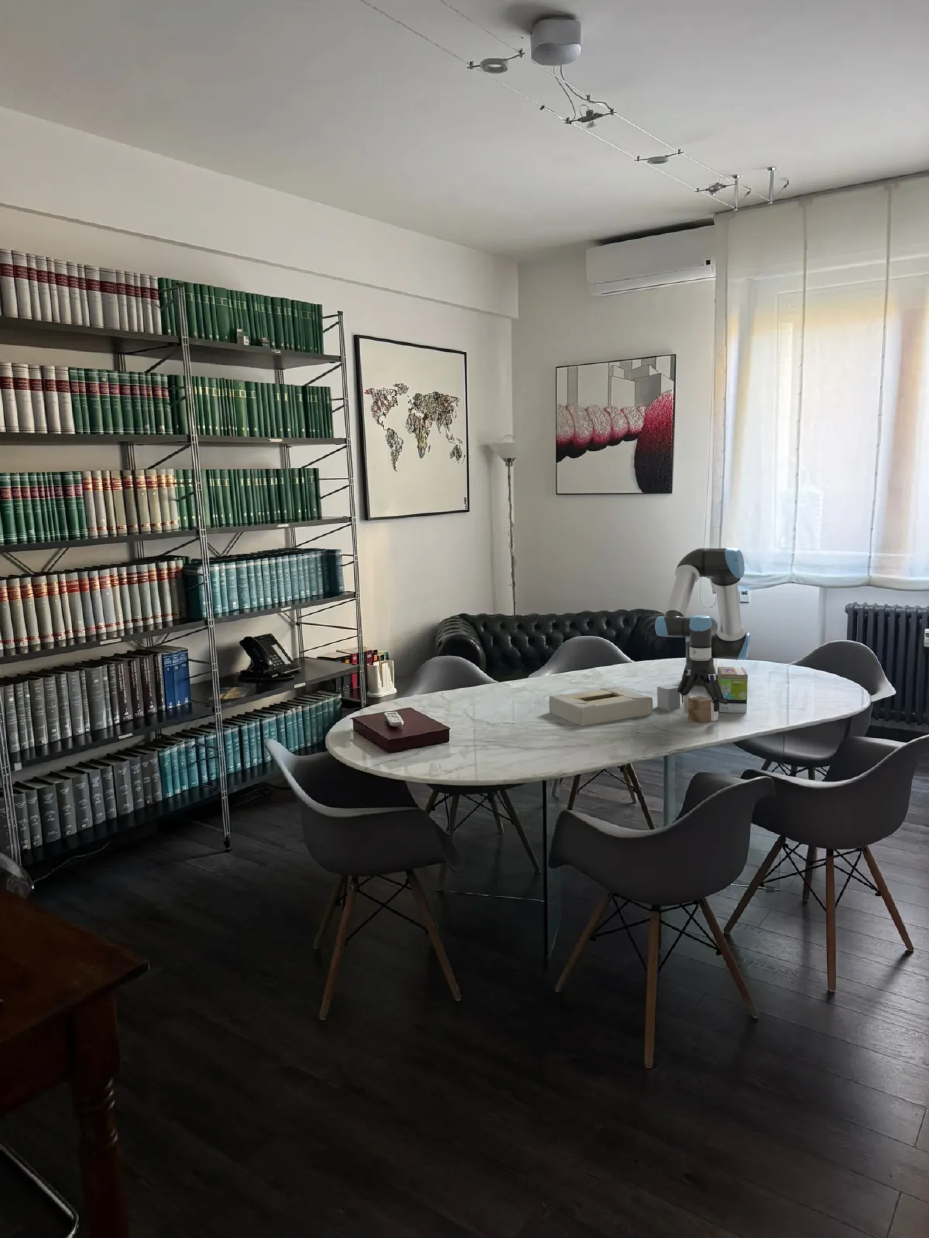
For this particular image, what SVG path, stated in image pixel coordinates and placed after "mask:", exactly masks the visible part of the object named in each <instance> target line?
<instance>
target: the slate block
mask: <svg viewBox="0 0 929 1238" xmlns="http://www.w3.org/2000/svg"><path fill="white" fill-rule="evenodd" d="M678 688H679V686H677V685H672V684H664V685H660V686H657V687H656V694H657V695H656V697H657V698H656V699H657V700H656V702H657V703H656V704H657V706H656V707H657V708H660V709H663V710H675V709H678V708H681V693H678V692H677V690H678Z"/></svg>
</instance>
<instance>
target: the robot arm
mask: <svg viewBox="0 0 929 1238" xmlns="http://www.w3.org/2000/svg"><path fill="white" fill-rule="evenodd" d="M744 559H745V558H744V555H743V553H742V550H740V549H739V548H736V547H726V548H724V547H722V548H721V547H714V548H713V547H711V548H710V547H707V548H706V547H700V548H697V549H694V550H692V551H690V552H688V553H687V554H685V555H684V556H683V557H682V559H681V560H680V561H679V563H678V564H677V565H676V569H675V572H674V575H675V580H674V583H673V586H672V590H671V592H670V596H669V599H668V603H667V606H666V610H665V612H664V615H662V616H661V615H660V616H657V617H656V619H655V622H654V630H655V634H656V635H657V637H658V636H659V637H668V638H671V637H672V638H685V642H684V643H685V665H684V669H683V673H682V675H681V681H680V683H679V686H678V687H679V688H678V690H677V692H678V693H680V696H681V703H682V713H683V714H688V698H691V697H690V696H691V695H690V692H691V690H692V689H693V688H694V687H695V685H696V686H697V685H698V686H703V687H704V688H705V690H706V692H707V694H708V695H709V698H711V699H712V703H711V721H710V722H712V721H718V720H719V712H720V710H719V703H720V702H722V701H724V697H723V694H722V691H721V688H720V686H719V683H718V678H717V671H716V668H715V667H716V666H715V665H714V663H715V662H714V660H715V659H718V660H732V661H738V660H739V661H740V660H741V661H744V660H746V659H747V658H748V655H749V652H750V651H749V650H750V643H751V633H750V632H749V631H748V632H747V631H746V627H744V625H742V617H741V608H740V607H741V606H740V596H739V585H738V583H739V582H740V581H741V580H742V578H743V577H744V575H745V560H744ZM700 578H710V582H711V583H712V584H713V585H714V586H715V593H716V602H717V611H718V619H719V620H718V621H719V622H718V621H717V619H716V618H714V617H713V616H709V615H706V614H700V615H698V614H697V615H692V616H686V615H687V612H688V608H689V605H690V601H691V597H692V594H693V591H694V588H695V584H696V583H697V582H698V581H699V579H700Z"/></svg>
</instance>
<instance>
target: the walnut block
mask: <svg viewBox="0 0 929 1238" xmlns="http://www.w3.org/2000/svg"><path fill="white" fill-rule="evenodd" d="M712 702H713V701H712V699H711V697H706V696H702V695H698V696H693V697H690V698H688V713H687V720H688V721H691V722H695V723H698V724H703V723H708V722H712V721H711V703H712Z"/></svg>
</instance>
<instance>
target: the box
mask: <svg viewBox="0 0 929 1238" xmlns="http://www.w3.org/2000/svg"><path fill="white" fill-rule="evenodd" d="M653 700H654V699H653V697H652V696H648V695H645V694H642V693H638V692H634V691H632V690H629V689H626V688H623V687H619V686H617V685H615V686H608V687H601V688H599V689H594V690H586V691H578V692H570V693H565V694H561V693H560V694H555V695H553V694H552V695H550V696H549V698H548V709H549V711H548V712H549V713H550V714H552V715H555V716H556V717H560V718H561V719H564V720H566V721H569V722H571V723H573V724H576V725H578V726H580V727H582V726H589V725H596V724H601V723H608V722H613V721H619V720H623V719H631V718H636V717H642V716H649V715H653V707H654V706H653V703H654V701H653Z"/></svg>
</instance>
